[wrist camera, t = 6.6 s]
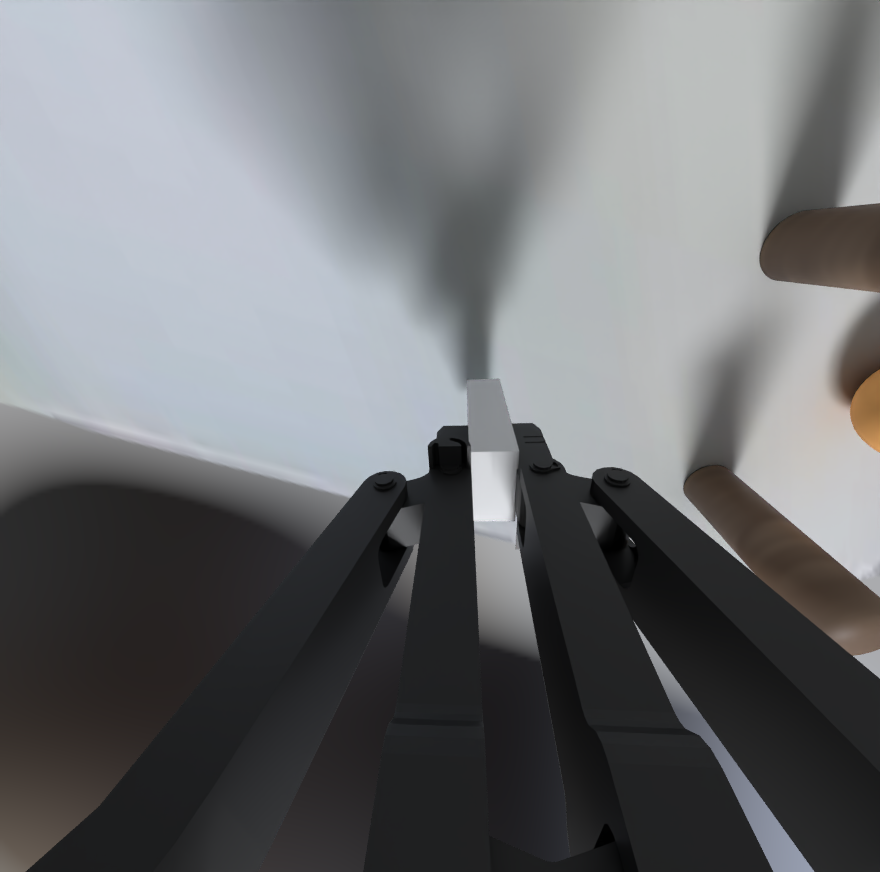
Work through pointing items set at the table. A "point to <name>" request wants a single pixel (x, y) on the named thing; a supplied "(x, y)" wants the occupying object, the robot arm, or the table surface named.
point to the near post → (826, 248)
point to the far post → (788, 559)
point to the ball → (867, 411)
